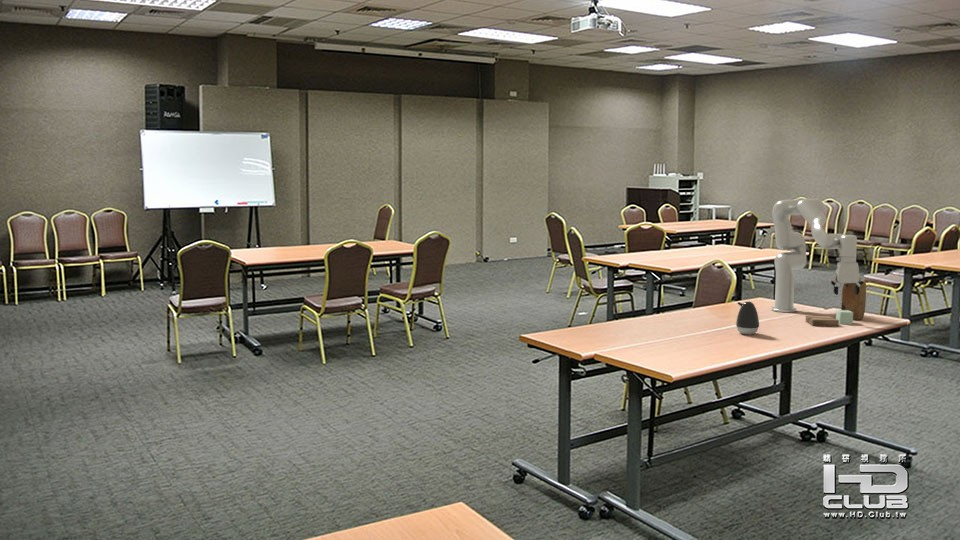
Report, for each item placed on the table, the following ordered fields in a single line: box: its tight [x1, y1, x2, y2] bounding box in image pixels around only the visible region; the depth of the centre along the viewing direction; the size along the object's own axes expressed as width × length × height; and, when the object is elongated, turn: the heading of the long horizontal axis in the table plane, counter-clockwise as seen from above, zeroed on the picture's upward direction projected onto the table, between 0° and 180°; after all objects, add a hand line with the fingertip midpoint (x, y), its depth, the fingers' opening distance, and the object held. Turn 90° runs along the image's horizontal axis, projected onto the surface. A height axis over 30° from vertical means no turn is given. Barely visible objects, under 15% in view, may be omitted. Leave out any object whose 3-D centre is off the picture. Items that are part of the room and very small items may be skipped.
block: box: [840, 279, 867, 321], centre depth 406 cm, size 11×8×20 cm
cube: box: [835, 309, 854, 325], centre depth 396 cm, size 6×6×6 cm
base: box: [805, 315, 840, 328], centre depth 393 cm, size 12×12×3 cm
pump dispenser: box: [735, 301, 760, 336], centre depth 370 cm, size 10×10×15 cm
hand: (846, 294), depth 394 cm, fingers open, 9 cm apart
